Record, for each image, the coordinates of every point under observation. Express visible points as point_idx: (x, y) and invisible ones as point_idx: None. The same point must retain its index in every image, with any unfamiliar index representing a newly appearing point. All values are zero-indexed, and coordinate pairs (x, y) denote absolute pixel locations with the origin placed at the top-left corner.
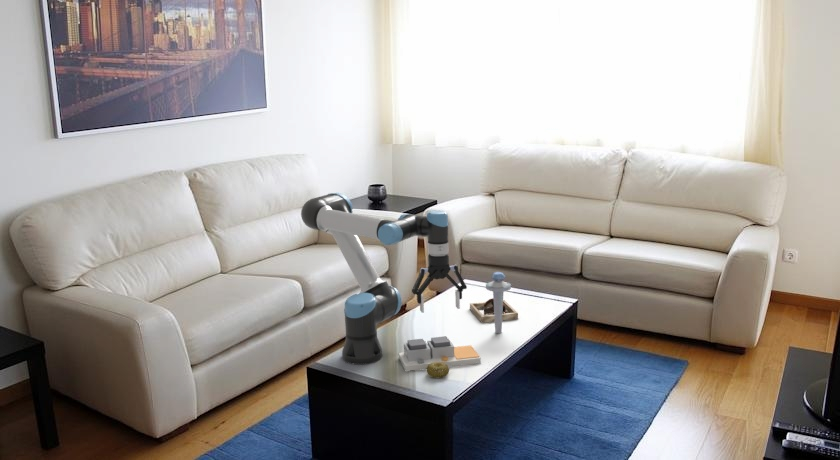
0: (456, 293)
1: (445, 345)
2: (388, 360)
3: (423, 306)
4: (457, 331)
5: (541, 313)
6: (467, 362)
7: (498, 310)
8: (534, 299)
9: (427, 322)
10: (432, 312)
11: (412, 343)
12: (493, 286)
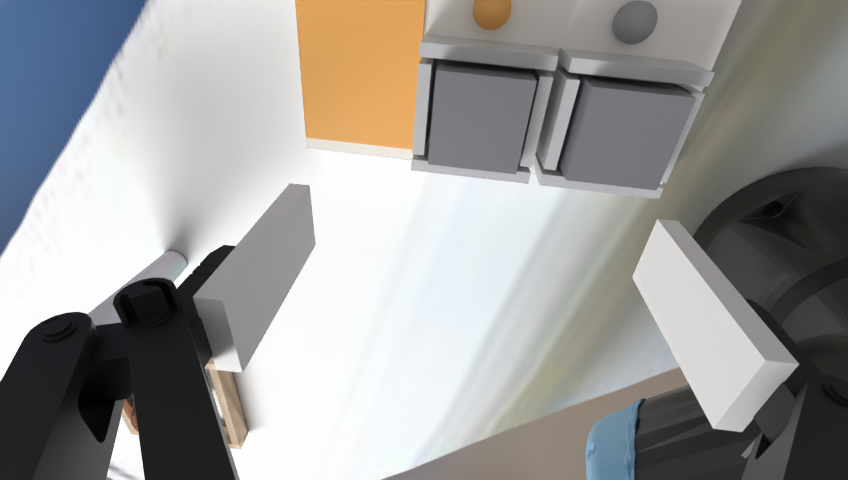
0: (249, 310)
1: (466, 69)
2: (708, 169)
3: (689, 255)
4: (323, 317)
5: (22, 338)
6: None
7: (104, 313)
8: None
9: (400, 404)
10: (362, 449)
11: (661, 132)
12: None
